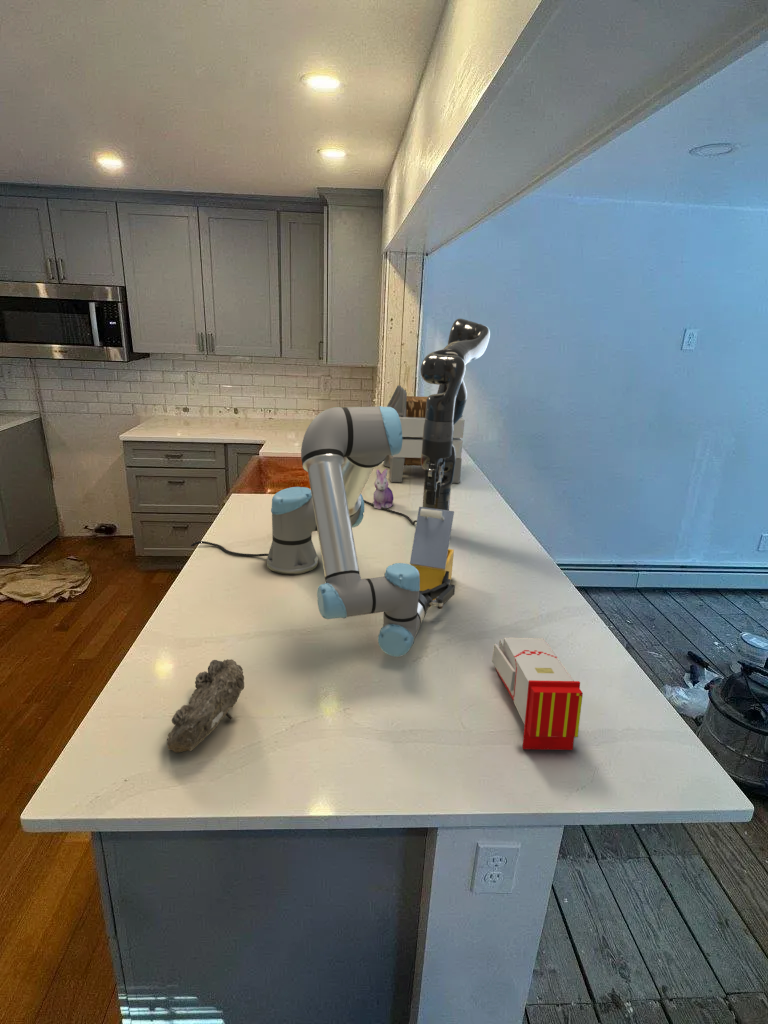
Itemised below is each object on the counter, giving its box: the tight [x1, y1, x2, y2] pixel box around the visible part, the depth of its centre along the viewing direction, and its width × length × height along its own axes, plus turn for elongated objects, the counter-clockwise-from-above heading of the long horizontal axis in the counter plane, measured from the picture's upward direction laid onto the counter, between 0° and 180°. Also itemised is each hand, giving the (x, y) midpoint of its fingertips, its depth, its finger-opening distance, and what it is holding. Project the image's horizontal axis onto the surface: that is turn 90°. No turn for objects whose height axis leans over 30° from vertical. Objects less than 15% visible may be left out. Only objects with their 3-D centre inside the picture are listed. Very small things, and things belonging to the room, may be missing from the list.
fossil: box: [166, 658, 245, 754], centre depth 106 cm, size 22×10×15 cm
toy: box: [491, 637, 584, 751], centre depth 115 cm, size 12×13×30 cm
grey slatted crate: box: [382, 384, 465, 484], centre depth 268 cm, size 34×33×41 cm
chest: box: [410, 548, 455, 600], centre depth 161 cm, size 15×10×10 cm, turn 164°
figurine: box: [372, 468, 394, 510], centre depth 225 cm, size 9×10×15 cm
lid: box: [409, 506, 455, 569], centre depth 150 cm, size 16×10×9 cm
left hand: (428, 572), depth 156 cm, fingers closed on chest, 10 cm apart
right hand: (432, 500), depth 148 cm, fingers open, 5 cm apart
